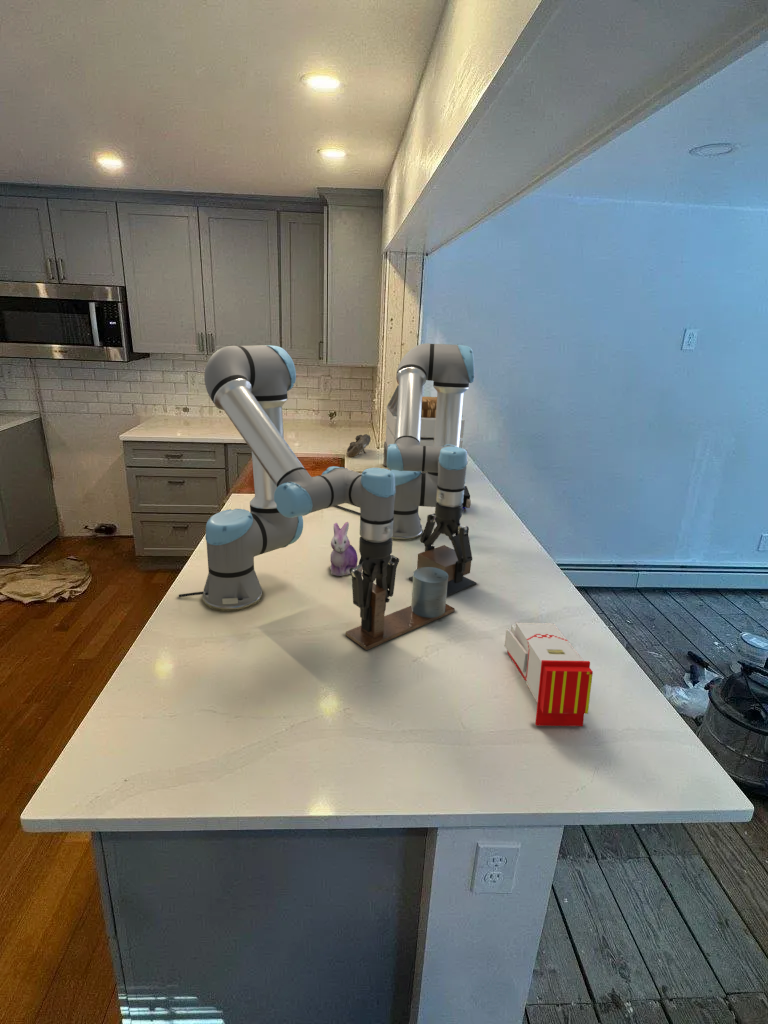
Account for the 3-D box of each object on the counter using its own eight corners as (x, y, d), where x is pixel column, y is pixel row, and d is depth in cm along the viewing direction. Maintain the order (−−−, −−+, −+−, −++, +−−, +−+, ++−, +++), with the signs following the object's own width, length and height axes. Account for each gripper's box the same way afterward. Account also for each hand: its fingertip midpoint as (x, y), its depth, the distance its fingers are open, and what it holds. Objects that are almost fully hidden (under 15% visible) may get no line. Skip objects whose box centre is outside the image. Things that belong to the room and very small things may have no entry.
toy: (550, 607, 134) (601, 667, 105) (545, 659, 137) (594, 732, 108) (499, 606, 134) (537, 666, 104) (495, 659, 137) (530, 731, 107)
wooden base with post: (367, 651, 131) (369, 601, 126) (344, 634, 137) (345, 586, 133) (455, 612, 150) (460, 567, 145) (431, 599, 156) (435, 555, 152)
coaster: (408, 579, 167) (408, 577, 166) (441, 567, 175) (441, 565, 175) (443, 598, 157) (443, 596, 157) (476, 584, 165) (476, 582, 165)
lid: (416, 569, 165) (417, 553, 164) (442, 560, 172) (444, 544, 170) (444, 583, 158) (445, 567, 156) (470, 573, 164) (471, 557, 163)
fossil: (346, 440, 316) (367, 425, 311) (357, 453, 319) (378, 438, 314) (340, 453, 296) (362, 438, 291) (351, 468, 299) (374, 452, 294)
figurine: (335, 579, 164) (336, 531, 159) (322, 565, 172) (322, 519, 167) (364, 574, 168) (366, 527, 163) (350, 560, 177) (351, 515, 172)
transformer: (382, 463, 289) (386, 382, 275) (445, 464, 293) (451, 384, 279) (390, 482, 257) (394, 392, 243) (460, 483, 261) (468, 394, 247)
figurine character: (470, 516, 223) (465, 500, 237) (473, 499, 220) (467, 484, 233) (453, 516, 223) (449, 500, 236) (455, 498, 220) (451, 483, 233)
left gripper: (358, 550, 121) (355, 645, 129) (413, 534, 131) (407, 623, 139) (337, 539, 126) (336, 630, 134) (391, 524, 136) (387, 610, 144)
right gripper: (410, 494, 164) (406, 563, 171) (472, 518, 147) (464, 593, 155) (429, 490, 168) (424, 557, 176) (490, 512, 152) (482, 585, 159)
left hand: (372, 626), depth 136 cm, fingers closed on wooden base with post, 3 cm apart
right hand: (443, 574), depth 165 cm, fingers closed on lid, 11 cm apart
